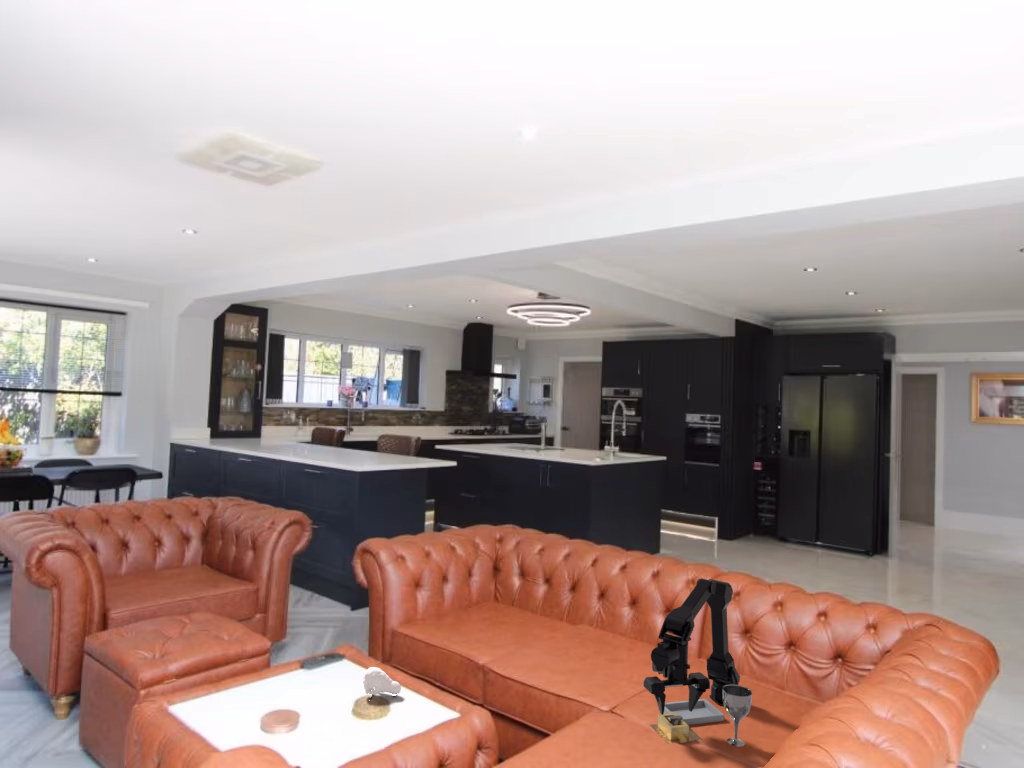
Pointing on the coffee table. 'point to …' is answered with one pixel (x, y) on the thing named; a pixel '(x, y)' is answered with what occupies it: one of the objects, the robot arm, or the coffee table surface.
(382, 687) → the grey lumpy shape
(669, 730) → the gold hollow rectangular block
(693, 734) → the brown peg base plate
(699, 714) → the tray
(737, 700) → the wine glass
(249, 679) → the coffee table surface
